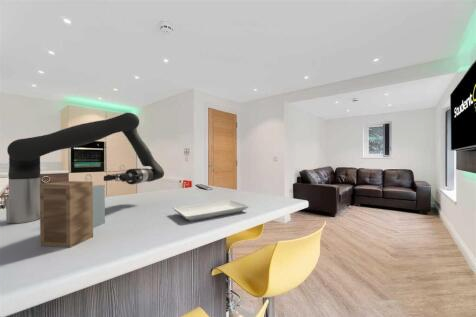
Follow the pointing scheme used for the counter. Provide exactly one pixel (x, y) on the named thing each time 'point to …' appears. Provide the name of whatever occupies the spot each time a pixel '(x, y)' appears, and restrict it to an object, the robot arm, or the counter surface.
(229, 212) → the tray
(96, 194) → the door
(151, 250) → the counter surface
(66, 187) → the cabinet
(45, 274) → the counter surface
